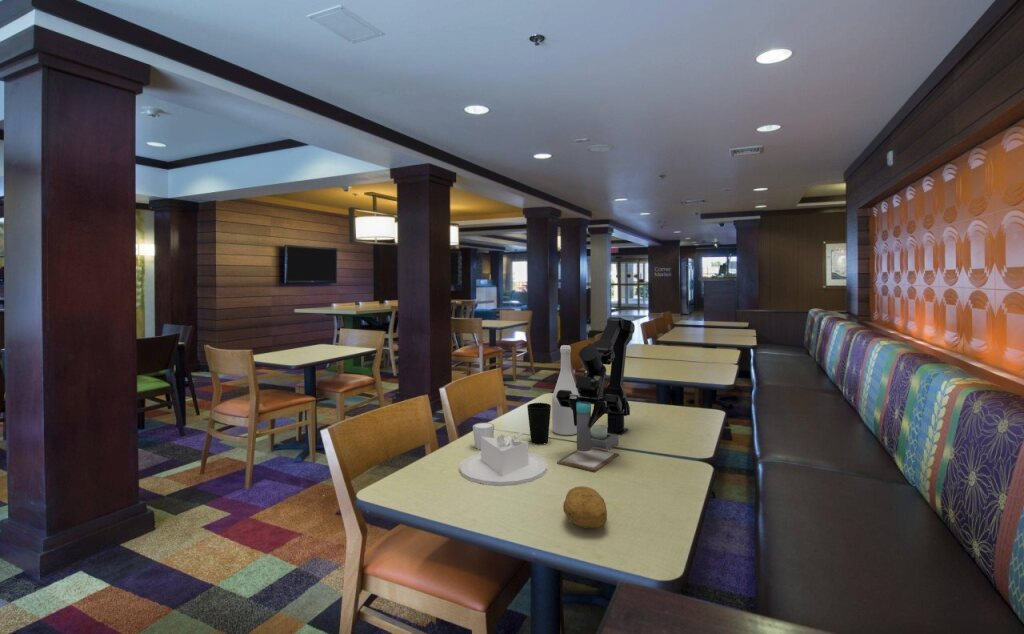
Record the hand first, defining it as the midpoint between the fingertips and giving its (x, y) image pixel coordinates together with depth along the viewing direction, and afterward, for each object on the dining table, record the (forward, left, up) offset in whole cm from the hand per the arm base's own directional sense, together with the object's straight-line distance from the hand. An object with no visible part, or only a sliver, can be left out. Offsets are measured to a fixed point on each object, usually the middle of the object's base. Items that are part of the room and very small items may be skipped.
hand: (582, 426), depth 147 cm
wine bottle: (-24, -19, -11) cm, 33 cm away
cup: (-10, -21, -11) cm, 26 cm away
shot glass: (+4, -33, -11) cm, 35 cm away
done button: (-17, -3, -9) cm, 20 cm away
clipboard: (-4, 0, -11) cm, 12 cm away
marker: (-1, 0, -7) cm, 7 cm away
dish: (+15, -17, -12) cm, 25 cm away
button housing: (-17, -3, -11) cm, 21 cm away
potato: (+31, +17, -11) cm, 37 cm away
